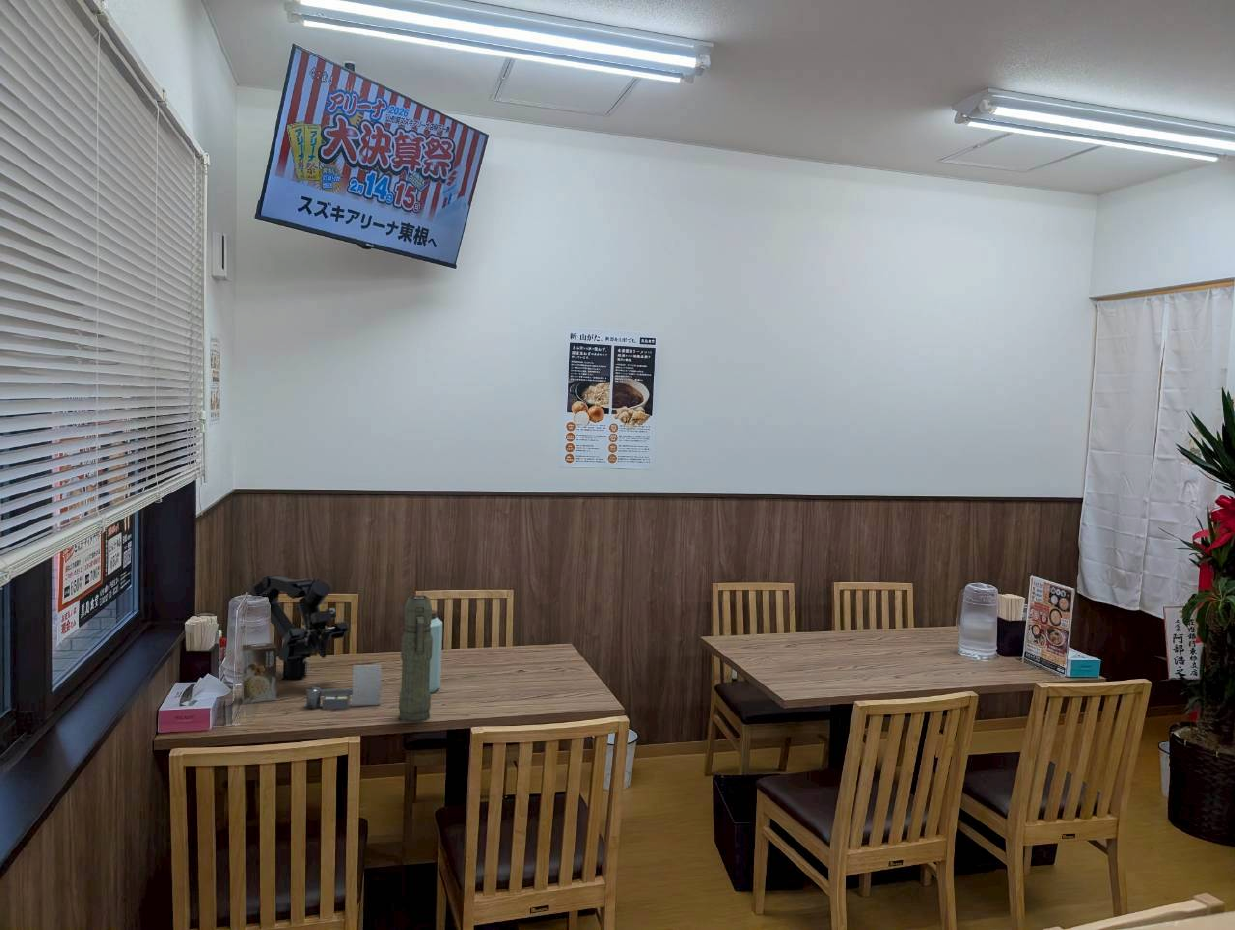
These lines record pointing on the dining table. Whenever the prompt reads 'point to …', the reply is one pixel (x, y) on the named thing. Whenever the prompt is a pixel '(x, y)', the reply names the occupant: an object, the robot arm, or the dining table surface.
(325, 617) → the robot arm
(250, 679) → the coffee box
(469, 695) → the dining table surface
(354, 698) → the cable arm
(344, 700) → the block
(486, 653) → the dining table surface
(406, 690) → the thermos
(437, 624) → the water bottle
